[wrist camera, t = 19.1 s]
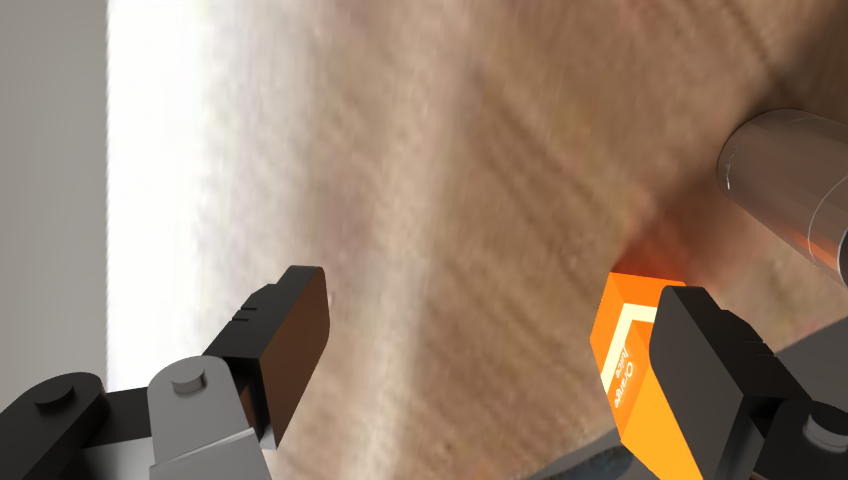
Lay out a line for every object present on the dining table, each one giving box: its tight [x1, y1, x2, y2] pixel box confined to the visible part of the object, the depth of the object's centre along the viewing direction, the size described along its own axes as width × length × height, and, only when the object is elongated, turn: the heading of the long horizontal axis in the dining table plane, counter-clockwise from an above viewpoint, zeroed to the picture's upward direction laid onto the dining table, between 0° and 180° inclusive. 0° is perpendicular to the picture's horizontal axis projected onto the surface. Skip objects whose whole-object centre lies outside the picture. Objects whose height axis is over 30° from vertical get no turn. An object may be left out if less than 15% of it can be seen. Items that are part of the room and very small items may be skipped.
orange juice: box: [590, 272, 703, 480], centre depth 43 cm, size 8×9×20 cm
